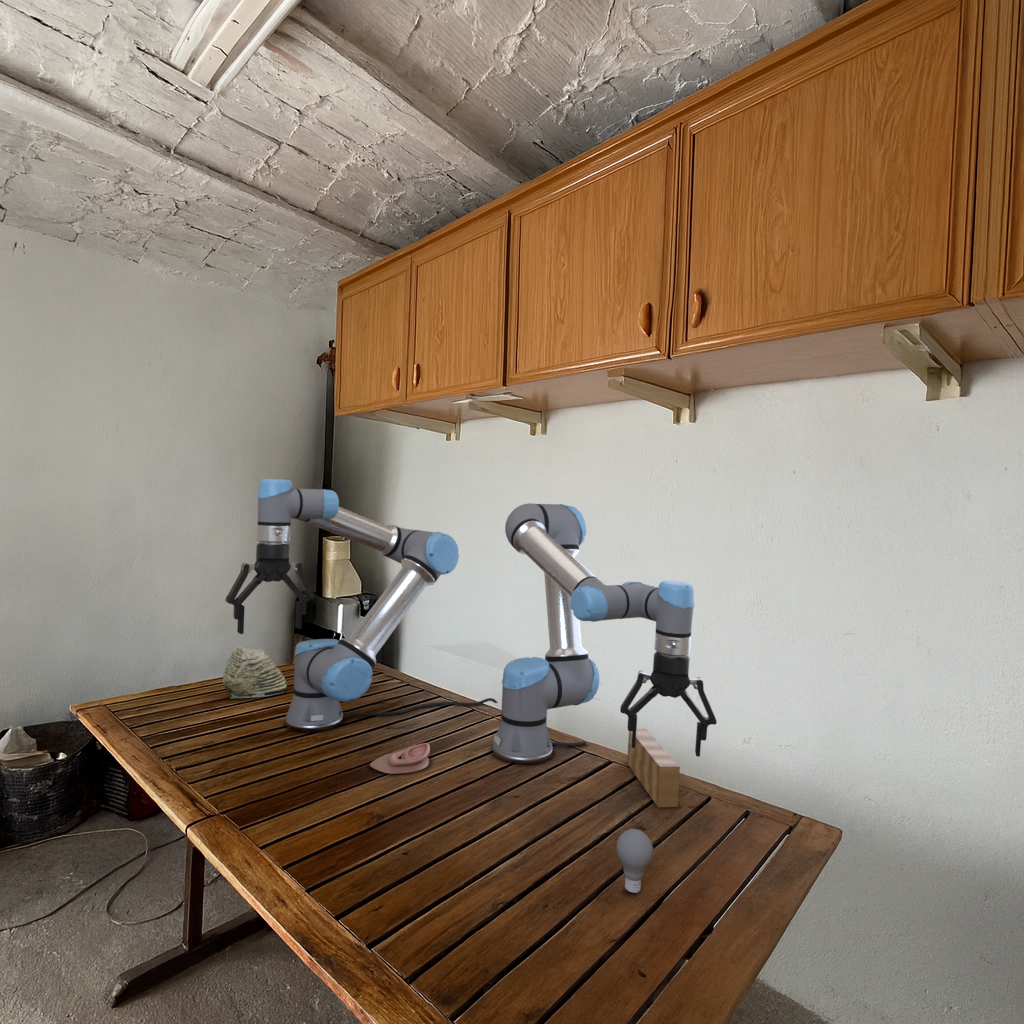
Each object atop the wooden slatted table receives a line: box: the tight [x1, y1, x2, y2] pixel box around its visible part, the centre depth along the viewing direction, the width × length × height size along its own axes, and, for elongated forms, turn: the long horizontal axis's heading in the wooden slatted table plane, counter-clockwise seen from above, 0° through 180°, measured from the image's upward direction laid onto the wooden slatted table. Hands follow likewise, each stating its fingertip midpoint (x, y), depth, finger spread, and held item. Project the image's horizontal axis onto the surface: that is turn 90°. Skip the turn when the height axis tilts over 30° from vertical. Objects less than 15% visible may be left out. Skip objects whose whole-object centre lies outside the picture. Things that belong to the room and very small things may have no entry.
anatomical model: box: [369, 742, 431, 775], centre depth 151 cm, size 13×4×12 cm
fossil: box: [222, 646, 288, 699], centre depth 198 cm, size 9×18×15 cm, turn 132°
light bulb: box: [615, 828, 654, 894], centre depth 106 cm, size 6×6×10 cm
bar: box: [626, 728, 681, 808], centre depth 147 cm, size 22×4×9 cm, turn 7°
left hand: (270, 630), depth 153 cm, fingers open, 13 cm apart
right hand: (665, 749), depth 138 cm, fingers open, 13 cm apart
